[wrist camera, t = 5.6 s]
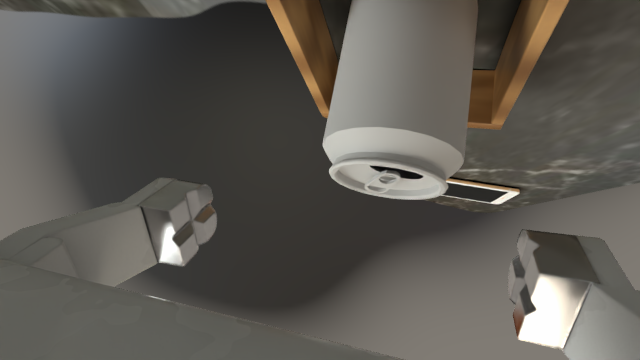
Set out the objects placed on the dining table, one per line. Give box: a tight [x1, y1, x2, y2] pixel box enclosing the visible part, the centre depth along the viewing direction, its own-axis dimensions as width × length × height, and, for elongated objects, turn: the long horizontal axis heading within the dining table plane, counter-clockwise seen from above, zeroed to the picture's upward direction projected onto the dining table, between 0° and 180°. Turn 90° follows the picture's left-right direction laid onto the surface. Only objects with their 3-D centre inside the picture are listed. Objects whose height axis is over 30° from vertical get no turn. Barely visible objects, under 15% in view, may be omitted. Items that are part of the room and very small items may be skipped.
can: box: [323, 0, 478, 199], centre depth 21 cm, size 8×8×12 cm
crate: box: [266, 0, 569, 129], centre depth 22 cm, size 16×14×4 cm
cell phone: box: [442, 178, 519, 204], centre depth 55 cm, size 8×16×1 cm, turn 95°
